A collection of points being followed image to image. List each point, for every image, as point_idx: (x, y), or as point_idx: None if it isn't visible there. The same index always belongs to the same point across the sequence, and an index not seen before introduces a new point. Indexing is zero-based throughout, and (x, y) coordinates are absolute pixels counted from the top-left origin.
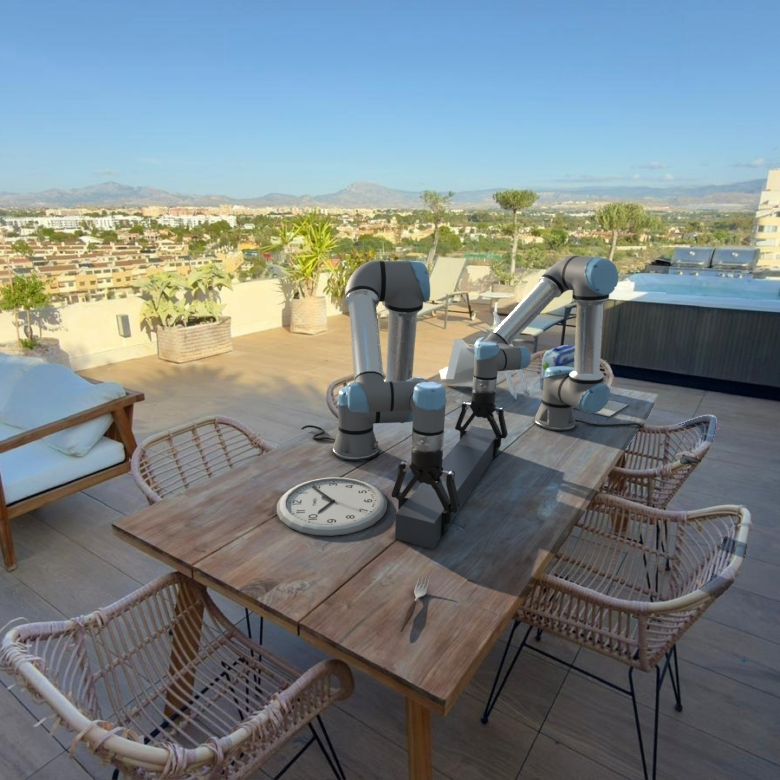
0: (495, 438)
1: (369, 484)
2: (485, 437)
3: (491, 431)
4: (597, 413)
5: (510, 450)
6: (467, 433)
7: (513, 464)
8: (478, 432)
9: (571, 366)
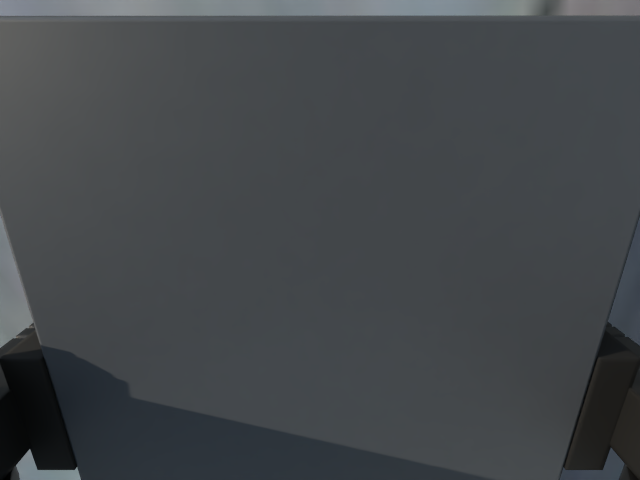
0: (583, 448)
1: None
2: (419, 471)
3: (487, 165)
4: None
5: (618, 9)
6: (101, 446)
7: (629, 324)
8: (248, 336)
9: None
